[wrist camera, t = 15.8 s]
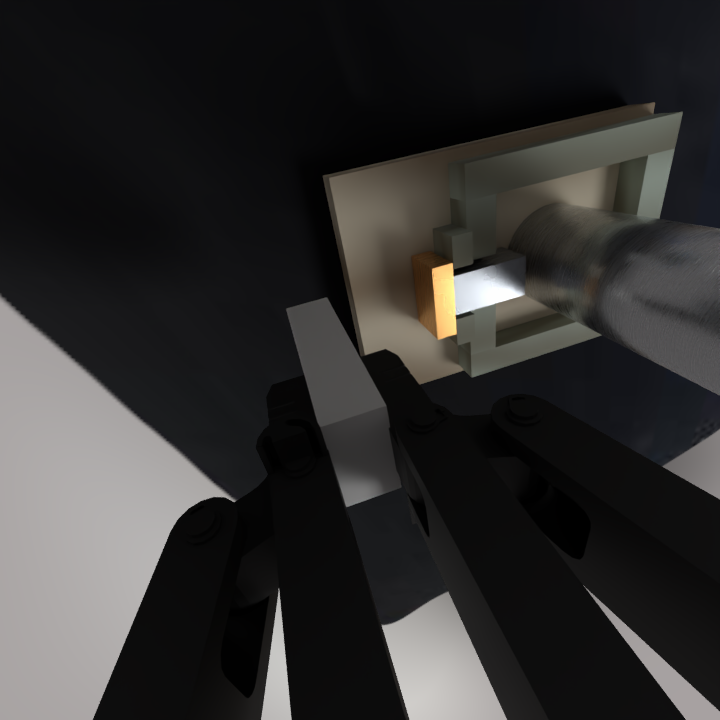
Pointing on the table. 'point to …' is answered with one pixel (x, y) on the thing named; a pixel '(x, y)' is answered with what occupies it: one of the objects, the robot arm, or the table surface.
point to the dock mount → (485, 228)
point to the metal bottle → (630, 282)
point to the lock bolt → (464, 286)
